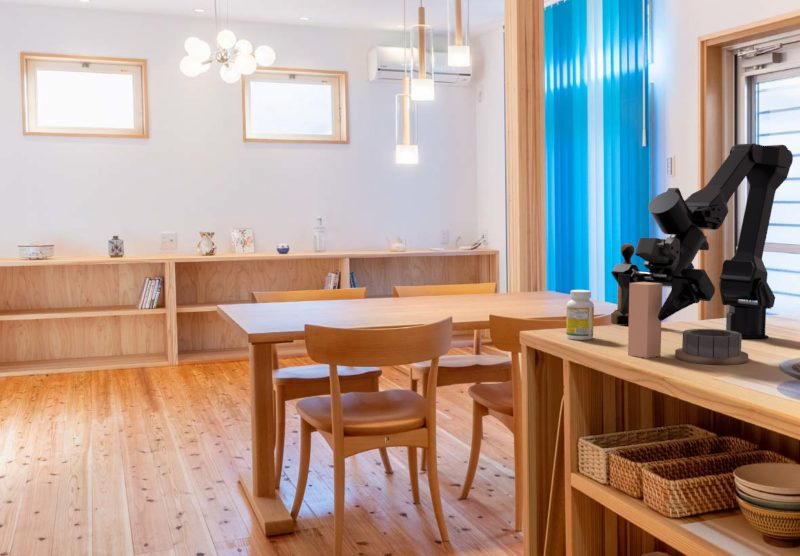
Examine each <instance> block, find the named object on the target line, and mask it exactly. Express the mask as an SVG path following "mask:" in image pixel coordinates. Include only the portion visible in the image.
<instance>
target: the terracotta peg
mask: <svg viewBox="0 0 800 556" xmlns="http://www.w3.org/2000/svg"><path fill="white" fill-rule="evenodd" d="M662 306H663V287H662V283H652V282H636V283H630V286H629V325H628V331H627V333H628V334H627V335H628V337H627V338H628V339H627V340H628V343H627V355H628V356H629V355H632V356H631V357H635V356H638V357H637V358H641V357H644V358H643V359H646V358H647V359H650V358H649V357H652V358H656V356H658V357H661V355H662V354H661V353H662V348H661V347H662V321H660V320H659V319H658V315H659V312H660V310H661V308H662Z"/></svg>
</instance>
